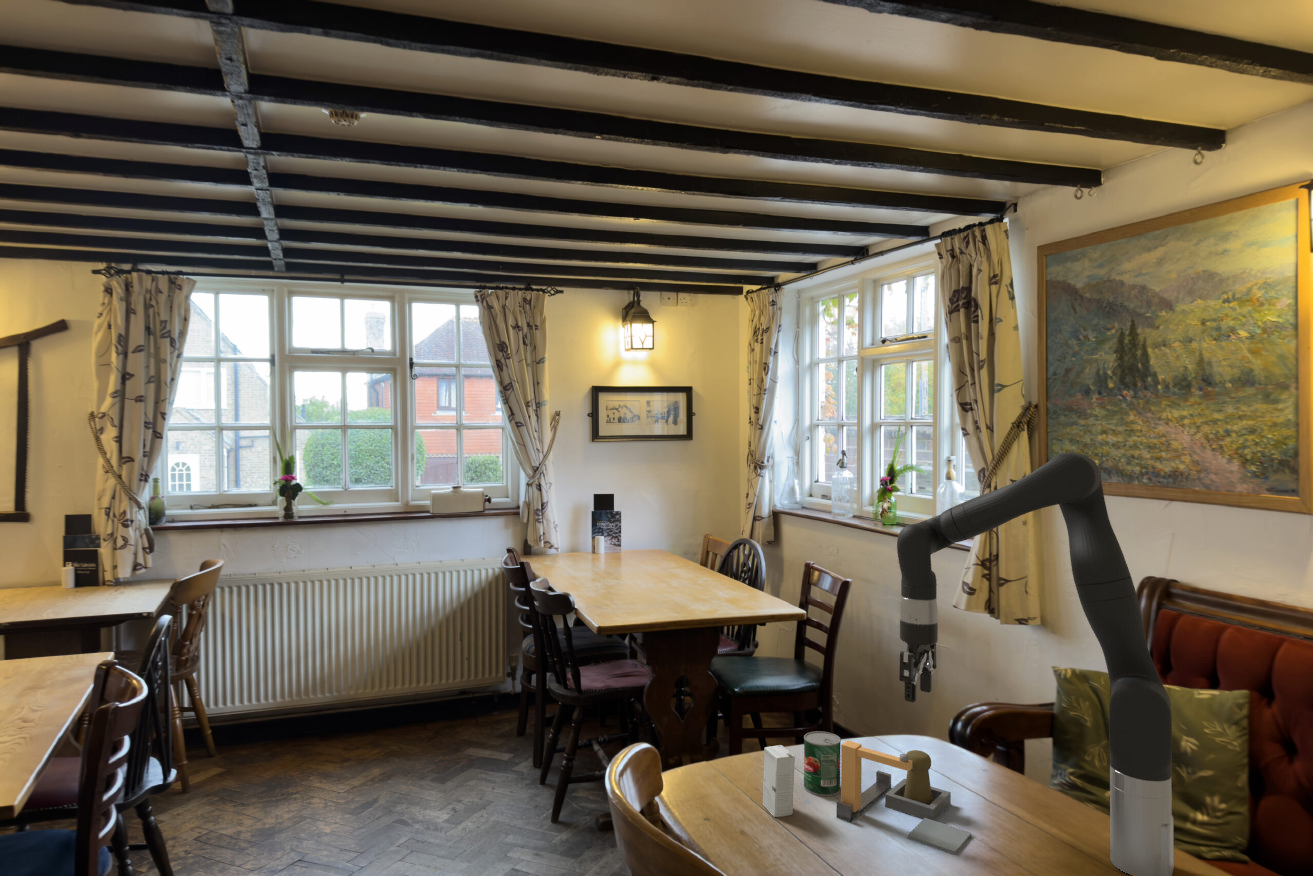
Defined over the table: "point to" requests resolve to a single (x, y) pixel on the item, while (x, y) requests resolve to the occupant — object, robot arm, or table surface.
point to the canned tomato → (822, 763)
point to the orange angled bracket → (852, 769)
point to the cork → (918, 778)
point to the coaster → (939, 835)
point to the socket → (915, 808)
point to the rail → (865, 797)
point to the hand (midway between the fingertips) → (918, 696)
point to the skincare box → (778, 781)
